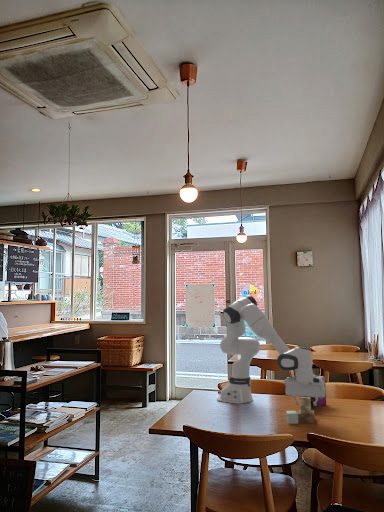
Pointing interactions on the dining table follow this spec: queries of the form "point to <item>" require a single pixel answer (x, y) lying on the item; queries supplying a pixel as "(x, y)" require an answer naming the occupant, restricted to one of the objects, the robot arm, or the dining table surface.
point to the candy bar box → (322, 400)
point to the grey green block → (292, 417)
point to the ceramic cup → (312, 402)
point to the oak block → (305, 405)
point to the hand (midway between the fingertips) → (305, 405)
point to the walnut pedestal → (306, 417)
